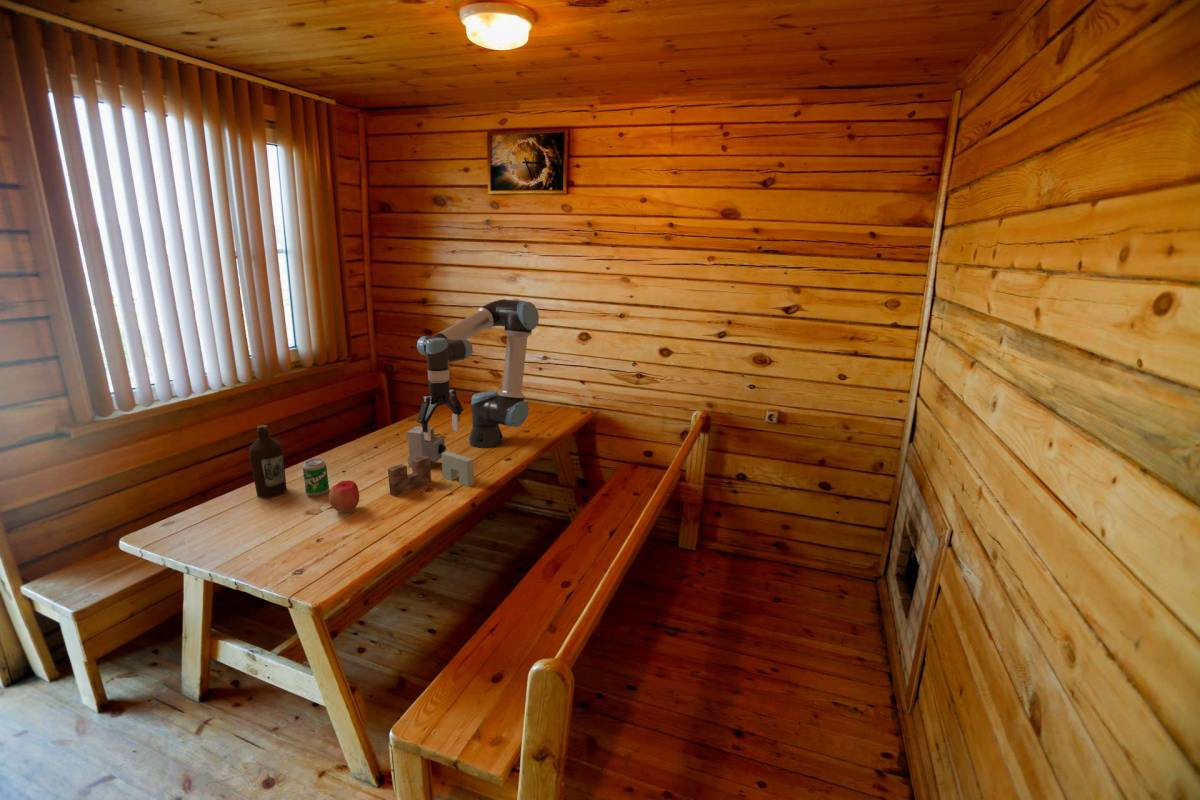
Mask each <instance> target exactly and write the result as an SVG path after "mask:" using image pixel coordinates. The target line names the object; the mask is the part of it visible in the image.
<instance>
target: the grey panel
mask: <svg viewBox="0 0 1200 800" xmlns="http://www.w3.org/2000/svg"><path fill="white" fill-rule="evenodd" d="M441 455H442V458H441V470H442V478H443V479H445V480H448V481H453V480H454V481H455V479H458V482H459V485H463V486H465V487H470V486H473V485H475V476H474V475H475V474H474V471H475V470H474V459H473V458H470V457H467V456H464V455H461V454H458V453H454V452H452V451H449V450H445V452H444V453H441Z"/></svg>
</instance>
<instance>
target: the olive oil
mask: <svg viewBox="0 0 1200 800" xmlns="http://www.w3.org/2000/svg"><path fill="white" fill-rule="evenodd" d="M256 429H257V430H256V431H257V438H256V439H255V441H253V443H252V444H251V445H250V446H249V450H248V459H249V462H250V463H249V464H250V468H251V473H252V476H253V482H254V487H255V492H256V496H257V497H260V498H262V499H263V498H265V499H267V498H274V497H278V496H281V495H283V494H285V493H286V491H287V489H288V488H287V480H286V468H285V456H284V455H285V453H284V448H283V446H282V444H281V443H280V442H279V441H277V439H275V438H273V437H272V436H270V434H269V433H270V431H269V429H268V425H266V424H262V425H258V426H257V427H256Z"/></svg>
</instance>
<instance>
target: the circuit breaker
mask: <svg viewBox="0 0 1200 800" xmlns="http://www.w3.org/2000/svg"><path fill="white" fill-rule="evenodd" d="M434 429H435V428H434V427H430V432H431V441H428V440H425V439H424V432H423V431H422V426H413V428H411V429H409V430H407V431H406V432H405V433H406V435H405V439H406V440H405V441H406V442H405V443H408V451H409V455H408V456H407V464H408V466H407V468H411V469H412V460H414V459H416V458H419V457H422V456H427V457H430V467H432V466H433V465H434V464H436V463H437V462H439V460H441V459H442V455H441V453H444V452H446V451H447V446H446V445H445V444H446V443H445V437H443V436H442V437H441V436H435V430H434Z"/></svg>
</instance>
